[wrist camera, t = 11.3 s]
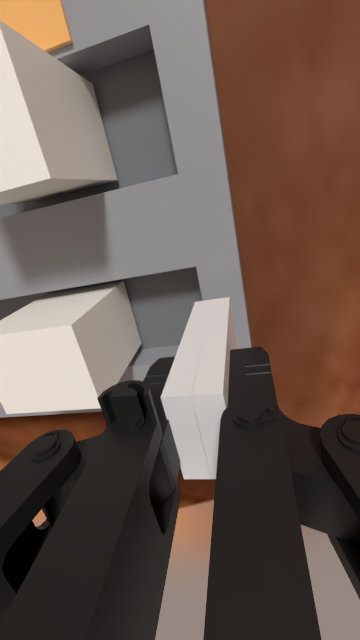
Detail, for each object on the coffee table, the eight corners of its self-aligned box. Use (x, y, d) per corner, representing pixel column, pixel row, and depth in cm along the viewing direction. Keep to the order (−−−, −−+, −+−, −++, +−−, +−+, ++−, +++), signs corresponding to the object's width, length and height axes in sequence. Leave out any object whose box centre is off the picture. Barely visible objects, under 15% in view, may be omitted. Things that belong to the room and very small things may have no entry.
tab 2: (47, 293, 18) (-33, 339, 13) (123, 280, 17) (71, 324, 12) (69, 351, 20) (6, 414, 14) (141, 343, 19) (102, 408, 13)
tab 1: (-1, 115, 15) (-137, 76, 9) (92, 83, 14) (-3, 18, 8) (31, 202, 16) (-71, 211, 11) (117, 180, 15) (50, 177, 10)
